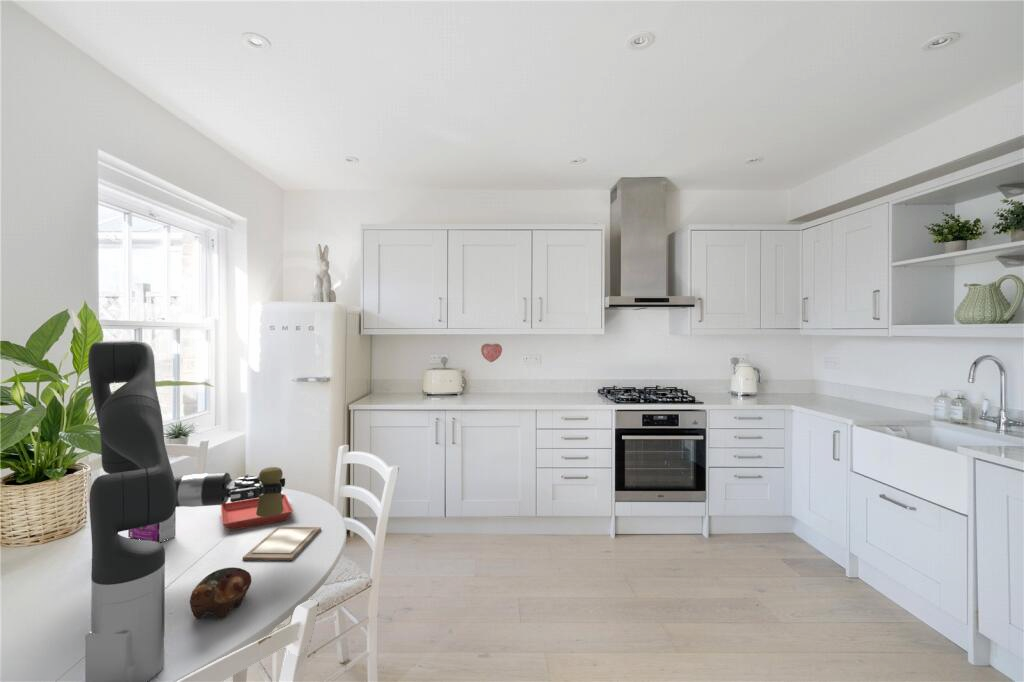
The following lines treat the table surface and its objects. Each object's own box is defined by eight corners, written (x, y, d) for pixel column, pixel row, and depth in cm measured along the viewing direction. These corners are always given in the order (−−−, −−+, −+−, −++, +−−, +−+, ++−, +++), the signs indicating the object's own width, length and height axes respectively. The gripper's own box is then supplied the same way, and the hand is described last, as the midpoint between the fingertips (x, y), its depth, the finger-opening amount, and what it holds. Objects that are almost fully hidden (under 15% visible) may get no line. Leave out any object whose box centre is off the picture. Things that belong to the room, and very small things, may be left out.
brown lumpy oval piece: (169, 634, 85) (170, 590, 86) (219, 594, 101) (219, 556, 101) (223, 632, 86) (223, 588, 86) (265, 592, 101) (264, 554, 101)
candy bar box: (126, 538, 124) (126, 477, 124) (145, 531, 129) (146, 472, 128) (158, 544, 121) (158, 482, 121) (176, 536, 126) (177, 476, 125)
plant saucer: (220, 513, 143) (220, 503, 143) (285, 503, 153) (285, 493, 153) (221, 535, 128) (222, 523, 128) (293, 522, 138) (293, 511, 138)
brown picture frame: (291, 560, 114) (291, 556, 114) (242, 560, 113) (242, 556, 113) (320, 529, 132) (321, 526, 132) (278, 529, 131) (278, 525, 131)
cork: (272, 517, 112) (273, 472, 112) (250, 515, 113) (251, 470, 113) (288, 508, 118) (289, 465, 118) (267, 506, 119) (268, 463, 119)
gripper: (194, 483, 105) (278, 478, 110) (215, 465, 118) (288, 462, 123) (193, 516, 105) (277, 510, 110) (214, 495, 118) (288, 490, 123)
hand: (282, 485), depth 116 cm, fingers closed on cork, 4 cm apart
